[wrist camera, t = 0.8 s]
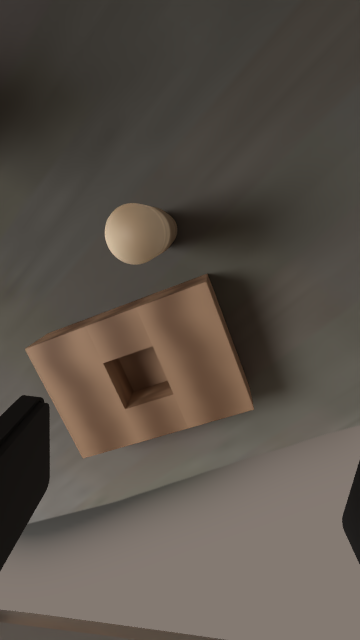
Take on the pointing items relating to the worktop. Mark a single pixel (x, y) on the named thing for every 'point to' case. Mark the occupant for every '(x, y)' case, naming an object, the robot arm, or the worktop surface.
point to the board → (143, 369)
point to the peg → (139, 232)
